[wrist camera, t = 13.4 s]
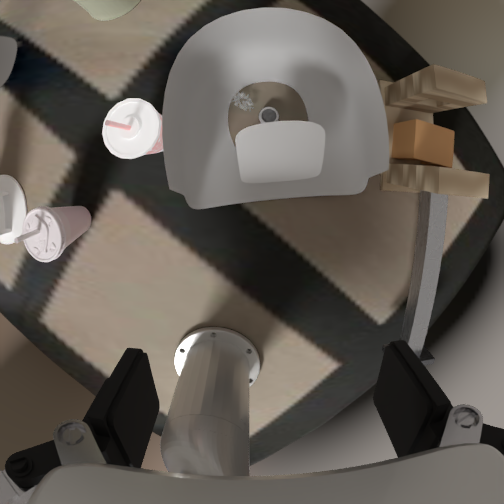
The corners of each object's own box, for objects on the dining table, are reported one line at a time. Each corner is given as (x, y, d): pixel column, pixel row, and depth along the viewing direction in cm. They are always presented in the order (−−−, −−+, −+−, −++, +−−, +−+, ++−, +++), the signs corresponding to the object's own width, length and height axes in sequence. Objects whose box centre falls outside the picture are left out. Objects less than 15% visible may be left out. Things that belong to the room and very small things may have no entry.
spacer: (427, 165, 35) (451, 167, 29) (391, 157, 35) (413, 158, 29) (429, 133, 34) (454, 131, 28) (393, 123, 34) (416, 119, 28)
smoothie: (93, 191, 37) (29, 207, 23) (104, 237, 38) (46, 272, 25) (58, 201, 37) (-8, 222, 23) (68, 245, 39) (8, 279, 25)
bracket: (429, 192, 37) (490, 208, 24) (380, 189, 37) (433, 204, 24) (428, 91, 33) (486, 73, 20) (377, 81, 33) (428, 53, 20)
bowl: (337, 48, 32) (369, 11, 20) (354, 192, 37) (395, 206, 26) (179, 60, 32) (152, 24, 21) (195, 207, 38) (171, 227, 26)
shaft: (418, 344, 38) (433, 363, 34) (381, 349, 38) (395, 370, 34) (442, 185, 32) (465, 190, 27) (402, 182, 32) (424, 186, 27)
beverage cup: (127, 152, 35) (69, 150, 22) (142, 106, 34) (90, 82, 20) (171, 164, 36) (128, 167, 22) (186, 117, 34) (151, 94, 21)
